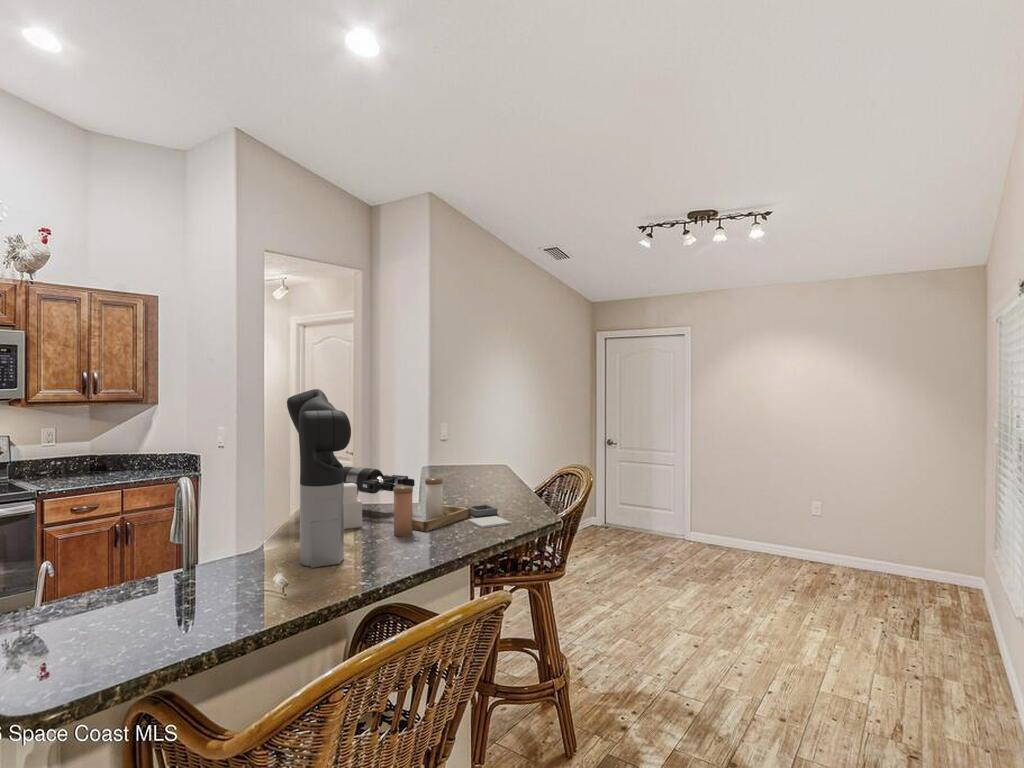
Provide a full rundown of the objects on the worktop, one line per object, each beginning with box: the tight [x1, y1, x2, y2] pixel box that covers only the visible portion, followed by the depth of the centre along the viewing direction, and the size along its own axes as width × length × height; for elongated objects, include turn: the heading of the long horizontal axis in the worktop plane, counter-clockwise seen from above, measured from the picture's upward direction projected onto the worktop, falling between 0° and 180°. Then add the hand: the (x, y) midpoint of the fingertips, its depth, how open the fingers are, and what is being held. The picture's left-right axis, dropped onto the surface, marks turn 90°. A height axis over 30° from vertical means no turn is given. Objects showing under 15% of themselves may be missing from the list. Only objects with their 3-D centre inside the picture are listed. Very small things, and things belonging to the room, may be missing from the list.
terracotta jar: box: [392, 486, 414, 537], centre depth 151 cm, size 5×5×12 cm
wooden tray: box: [412, 504, 471, 532], centre depth 164 cm, size 10×20×2 cm, turn 149°
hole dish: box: [465, 503, 498, 518], centre depth 174 cm, size 7×7×2 cm
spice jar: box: [424, 476, 444, 521], centre depth 165 cm, size 5×5×12 cm
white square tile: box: [467, 515, 512, 529], centre depth 163 cm, size 9×9×1 cm
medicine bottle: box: [344, 482, 363, 530], centre depth 160 cm, size 7×7×12 cm
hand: (404, 485), depth 171 cm, fingers open, 8 cm apart
